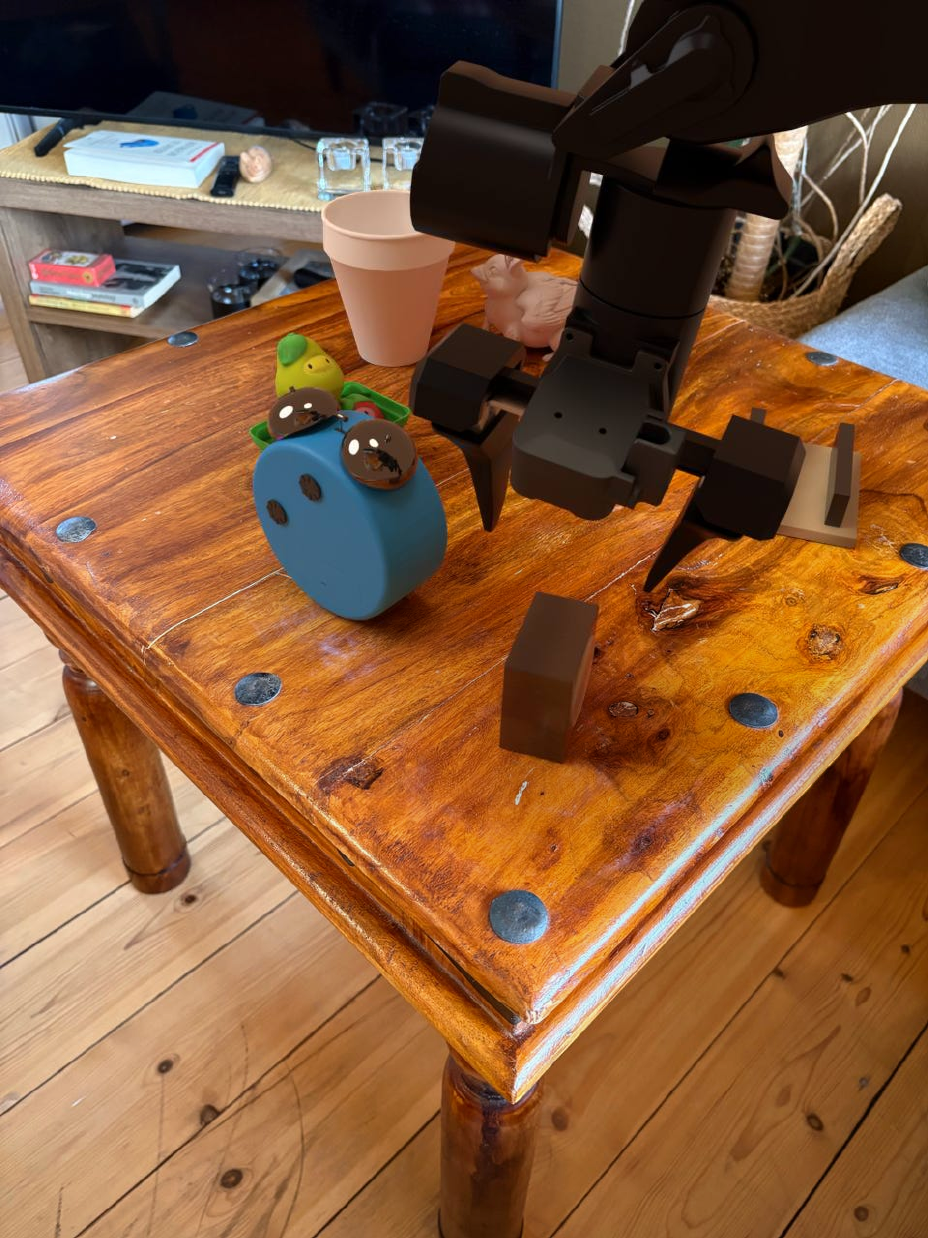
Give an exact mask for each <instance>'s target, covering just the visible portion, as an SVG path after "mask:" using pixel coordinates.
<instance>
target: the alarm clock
mask: <svg viewBox="0 0 928 1238" xmlns="http://www.w3.org/2000/svg"><path fill="white" fill-rule="evenodd" d="M289 390H290V392H289V393H287V394H285V395H283V396H281V397H280V398H279V399H277V400H275V401H274V403H273V404H272V406H271V407H270V410H269V411H268V414H267V417H266V419H267V427H268V431H269V433H270V436H271V437H279V436H283V435H287V434H290V433H291V434H290V435H288V436H286V437H284V438H282V439H280V440H278V441H276V442H274V443H272V444H270V445H269V446H268V447H267V448H265V449H264V451H263V452H262V453H261V452H260V455H259V456H258V458H257V460H256V463H255V466H254V468H253V473H252V494H253V500H254V506H255V511H256V515H257V518H258V521H259V523H260V526H261V529H262V532H263V534H264V537H265V539H266V540H267V543H268V544H269V547H270V549H271V551H272V552H273V554H274V555H275V557H276V560H278V562H279V563H280V565H281V566H282V568H283V569H284V571H285V572H286V573H287V575H288V576H289V577H290V579H291V580H292V581H293V582H294V583H295V584H296V585H297V586H298V587H299V589H300V590H302V591H303V592H304V593H305V595H307V596H308V597H309V598H310V599H311V600H312V601H314V602H315V603H316V604H318V605H319V606H320V607H322V608H323V609H325V610H327V611H328V612H330V613H332V614H334V615H336V616H337V617H341V618H344V619H347V620H352V621H366V620H370V619H373V618H375V617H377V616H379V615H381V614H382V613H384V612H386V610H388V609H389V608H391V607H392V606H393V605H395V604H396V603H398V602H399V601H401V600H402V599H406V600H407V601H409V600H411V599H412V596H411V593H412V592H413V591H415V590H416V589H417V588H419V587H420V586H422V585H423V584H425V583H426V582H428V581H429V580H430V579H431V578H432V577H433V576H435V575H436V573H437V572H438V571H439V569H440V568H441V566H442V565H443V563H444V560H445V556H446V554H447V553H446V552H447V547H448V535H449V534H448V523H447V516H446V512H445V508H444V504H443V501H442V498H441V496H440V491H439V490H438V488H437V486H436V483H435V481H434V480H433V477H432V476H431V474H430V472H429V470H428V468H427V467H426V465H425V463H424V462H423V460H422V459H421V458H420V457H419V454H418V449H417V446H416V443H415V442H414V440H413V438H412V437H411V435H410V434H409V433H408V431H407V430H405V428H404V429H403V428H402V427H400V426H399V425H397V424H395V423H393V422H391V421H388V420H385V419H377V418H375V417H373V416H370V415H368V414H365V413H361V412H358V411H352V410H342V411H340V410H341V407H340V404H339V402H338V400H337V399H336V397H335V396H334V395H333V394H331V393H330V392H328V391H327V390H324V389H322V388H318V387H302V388H299V389H296V390H295V389H294V386H291V387H289Z"/></svg>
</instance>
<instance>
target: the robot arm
mask: <svg viewBox="0 0 928 1238" xmlns="http://www.w3.org/2000/svg"><path fill="white" fill-rule="evenodd" d="M438 87H439V88H438V96H437V102H436V104H435V107H434V109H433V111H432V114H431V115H430V118H429V121H428V124H427V127H426V131H425V133H424V137H423V142H422V144H421V149H420V153H419V159H418V160H417V161H416V162H415V163H414V164H413V167H412V171H411V176H410V186H409V191H410V201H409V202H410V218H411V223H412V226H413V228H414V230H415V231H417V232H420V233H423V234H427V235H431V236H435V237H438V238H442V239H446V240H450V241H453V242H455V243H457V244H461V245H466V246H468V247H473V248H476V249H480V250H483V251H487V252H491V253H495V254H502V255H506V256H510V257H513V258H517V259H521V260H525V261H526V262H528V263H533V264H537V265H538V264H539V263H541V261H542V260H543V258H548V257H549V253H550V251H551V247H552V244H553V241H555V243H556V244H559V245H562V246H567V247H570V245H571V244H572V242H573V240H574V237H575V235H576V234H577V229H578V227H579V223H580V221H581V217H582V214H583V211H584V207H585V203H586V199H587V195H588V191H589V186H590V182H591V177H592V174H595V175H599V176H602V178H601V181H600V186H599V190H598V194H597V200H596V203H595V207H594V212H593V216H592V220H591V225H590V229H589V234H588V238H587V242H586V246H585V250H584V254H583V259H582V263H581V264H582V265H581V268H580V272H579V276H578V280H577V282H578V284H577V288H576V293H575V297H574V301H573V306H572V310H571V312H570V313H569V315H568V316H567V318H566V322H565V327H564V330H563V331H562V334H561V338H560V342H559V346H558V348H557V350H556V351H555V353H554V354H553V356H552V357H551V359H550V360H549V361H547V363H546V365H545V366H544V368H543V369H542V371H541V374H540V376H536V375H533V374H530V373H527V372H524V366H525V360H526V355H527V349H526V346H525V345H524V343H522V342H519V341H516V340H513V339H510V338H507V337H504V336H503V335H502V334H498V333H496V332H493V331H490V330H489V331H487V330H484V329H482V327H477V326H475V325H472V324H469V323H465V322H462V323H460V324H459V325H457V326H455V327H454V328H452V329H451V330H449V331H448V332H447V333H446V334H445V335H444V336H443V337H442V338H441V339H440V340H439V341H437V343H436V344H435V345H434V346H433V347H432V348H431V349H430V350H429V351H427V352H426V355H425V356H424V357H423V358H422V359H421V360H419V361H418V362H416V365H415V368H414V370H413V373H412V375H411V377H410V385H409V395H408V403H407V408H409V409H410V413H411V414H412V415H413V416H415V417H417V418H420V419H423V420H426V421H428V422H430V426H431V427H430V428H431V429H432V431H433V432H434V433H435V435H437V436H440V437H443V438H444V439H447V440H449V442H451V443H452V444H454V445H455V446H456V447H457V448H458V449H460V451H461V452H462V454H463V457H464V459H465V462H466V465H467V467H468V470H469V473H470V477H471V479H472V480H471V481H472V484H473V489H474V493H475V499H476V501H477V505H478V510H479V514H480V519H481V521H482V522H481V523H482V526H483V530H484V531H485V532H488V533H493V531H494V530H495V528H496V527H497V525H498V524H499V520H500V517H501V514H502V510H503V507H504V504H505V500H506V498H507V497H506V495H507V491H508V483H510V486H511V488H512V490H513V491H514V492H515V494H517V495H519V496H522V497H524V498H526V499H528V500H538V501H540V502H544V503H547V504H549V505H552V506H554V507H557V508H560V509H563V510H565V511H567V512H570V513H572V514H573V515H574V516H575V517H576V518H579V519H582V520H585V521H591V522H596V521H601V520H604V519H606V518H607V517H609V516H610V515H611V514H612V512H613V511H614V509H615V507H616V505H618V506H621V507H623V508H627V509H629V510H630V511H631V510H632V511H634V510H635V509H636V507H637V505H638V504H639V503H643V504H644V503H645V504H648V505H650V506H653V507H659V506H662V502H663V501H664V498H665V496H666V494H667V491H668V489H669V487H670V484H671V482H672V480H673V478H674V475H675V473H676V472H677V471H680V472H683V473H686V474H689V475H691V476H695V477H696V478H698V479H697V481H696V482H695V485H694V486H693V488H692V490H691V492H690V493H689V495H688V497H687V499H686V501H685V503H684V504H683V506H682V508H681V510H680V512H679V514H678V516H677V517H676V519H675V521H674V523H673V525H672V527H671V528H670V530H669V532H668V534H667V535H666V537H665V539H664V541H663V543H662V545H661V547H660V548H659V550H658V551H657V554H656V556H655V559H654V560H653V562H652V564H651V567H650V569H649V571H648V573H647V575H646V578H645V581H644V584H643V588H642V592H644V593H647V594H651V593H652V592H653V590H654V589H655V588H656V587H658V586H659V584H660V583H662V581H663V580H664V579H665V578H666V577H667V576H669V574H670V573H671V572H672V571H673V570H674V569H675V568H676V567H677V566H678V564H680V563H681V561H682V560H684V558H685V557H687V556H688V555H689V554H690V553H691V552H693V550H695V549H697V548H698V547H699V546H701V545H702V544H703V543H705V542H706V541H709V540H714V539H721V540H724V541H726V542H730V543H735V542H738V541H741V540H742V539H743V537H746V538H750V539H752V540H755V541H758V542H764V541H770V540H774V539H775V537H776V535H777V534H776V533H777V531H778V529H779V527H780V524H781V522H782V520H783V518H784V516H785V513H786V511H787V509H788V506H789V504H790V501H791V499H792V496H793V494H794V491H795V487H796V484H797V481H798V478H799V475H800V472H801V469H802V465H803V462H804V459H805V456H806V451H805V448H804V446H803V443H802V442H803V441H802V438H801V436H798V435H796V434H792V433H790V432H787V431H783V430H781V429H777V428H775V427H773V426H769V425H766V424H764V425H763V424H760V423H757V422H755V421H752V420H749V419H750V418H745V417H743V416H740V415H737V414H734V413H732V414H731V417H730V419H729V421H728V423H727V424H726V425H727V426H726V427H725V430H724V432H723V434H722V436H721V438H716V437H714V436H710V435H707V434H704V433H702V432H699V431H696V430H694V429H690V428H687V427H685V426H682V425H680V424H679V425H678V424H676V423H672V422H670V419H671V415H672V412H673V409H674V406H675V404H676V401H677V397H678V395H679V392H680V388H681V386H682V382H683V379H684V376H685V373H686V370H687V367H688V364H689V361H690V358H691V354H692V351H693V349H694V346H695V343H696V339H697V337H698V333H699V330H700V327H701V324H702V321H703V319H704V316H705V312H706V309H707V307H708V303H709V301H710V297H711V294H712V291H713V289H714V286H715V282H716V279H717V277H718V273H719V271H720V268H721V264H722V261H723V258H724V255H725V252H726V249H727V246H728V243H729V240H730V237H731V233H732V232H733V228H734V225H735V221H736V219H737V216H738V213H739V212H742V213H745V214H750V215H753V216H758V217H761V218H766V219H770V220H773V221H782V220H784V219H785V218H786V217H787V216H788V214H789V213H790V209H791V208H790V207H791V202H792V195H793V188H794V179H793V177H792V175H791V174H790V173H789V172H788V170H787V169H786V168H785V165H784V164H783V163H782V160H781V159H780V156H779V154H778V151H777V147H776V139H775V135H774V134H780V133H785V132H790V131H791V132H792V131H795V130H798V129H801V128H804V127H807V126H810V125H814V124H816V123H820V122H823V121H826V120H829V119H833V118H835V117H839V116H841V115H845V114H849V113H851V112H855V111H861V110H867V109H873V108H878V107H883V106H890V105H928V0H642V1H641V3H640V5H639V7H638V8H637V11H636V13H635V15H634V17H633V20H632V21H631V24H630V26H629V28H628V32H627V38H626V44H625V49H624V50H623V52H621V53H620V54H619V55H618V56H617V57H616V58H615V59H614V60H613V61H611V63H610V64H608V65H605V64H599V65H598V66H597V68H596V69H595V70H594V71H593V73H592V74H591V75H590V76H589V78H588V79H586V81H585V82H584V83H583V85H582V86H581V87H580V88H579V89H578V91H577V93H576V94H575V93H572V92H568V91H564V90H559V89H556V88H552V87H548V86H543V85H539V84H535V83H531V82H527V81H523V80H519V79H515V78H511V77H508V76H504V75H501V74H499V73H497V72H496V71H495V70H493V69H491V68H488V67H486V66H483V65H481V64H476V63H472V62H468V61H464V60H458V61H456V62H455V63H454V64H452V65H451V66H450V67H449V68H448V69H447V70H445V71H444V72H443V73H442V74H440V79H439V86H438ZM662 138H666V139H668V140H669V141H668V143H667V146H666V147H665V146H664V147H662V146H652V145H647V144H650V143H652V142H654V141H658V140H659V139H662ZM751 138H755V139H754V140H751V141H750V142H748V143H746V144H743V145H741V146H738V147H734V146H729V145H725V144H723V143H729V142H733V141H739V140H745V139H751ZM525 261H524V262H525Z"/></svg>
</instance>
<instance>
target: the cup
mask: <svg viewBox="0 0 928 1238" xmlns="http://www.w3.org/2000/svg"><path fill="white" fill-rule="evenodd" d="M409 201H410V189H409V190H408V189H392V188H391V189H390V188H389V189H387V188H385V189H370V190H362V191H357V192H356V191H355V192H352V193H348V194H345V195H342V196H339V197H337V198H334V199H332V200H331V201H330V202H327V204H326V205H325V206H324V207H323V208H322V210H321V212H320V215H321V221H322V246H323V252H324V253H325V254H326V255H327V256H328V257H329V260H330V263H331V267H332V270H333V273H334V276H335V279H336V283H337V286H338V289H339V293H340V296H341V299H342V302H343V306H344V309H345V312H346V315H347V319H348V322H349V326H350V328H351V331H352V335H353V339H354V341H355V345H356V348H357V351H358V354H359V356H360V357H361V359H362V360H364V361H366V362H367V363H369V364H372V365H375V366H379V367H387V368H388V367H389V368H395V367H396V368H397V367H405V366H410V365H413V364H415V363H416V364H417V363H418V362H419V361H420V360H421V359H422V358H423V357H424V356H425V355H426V354H427V353H428V348H429V344H430V339H431V336H432V331H433V327H434V324H435V318H436V315H437V310H438V307H439V301H440V298H441V293H442V289H443V284H444V281H445V277H446V272H447V268H448V264H449V259H450V255H451V254H453V253H454V251H455V248H456V242H453V241H450V240H446V239H442V238H438V237H435V236H431V235H427V234H423V233H420V232H417V231H415V230H414V228H413V226H412V223H411V218H410V202H409Z"/></svg>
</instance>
